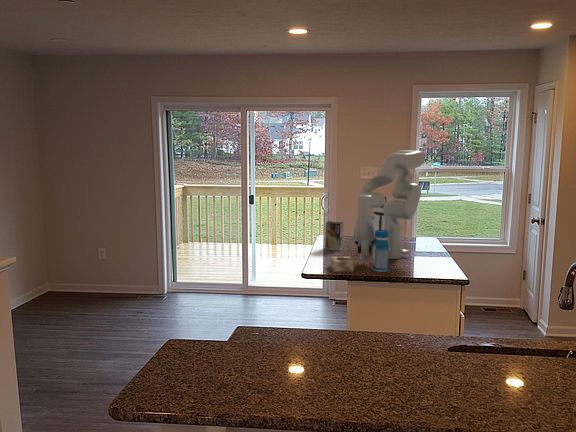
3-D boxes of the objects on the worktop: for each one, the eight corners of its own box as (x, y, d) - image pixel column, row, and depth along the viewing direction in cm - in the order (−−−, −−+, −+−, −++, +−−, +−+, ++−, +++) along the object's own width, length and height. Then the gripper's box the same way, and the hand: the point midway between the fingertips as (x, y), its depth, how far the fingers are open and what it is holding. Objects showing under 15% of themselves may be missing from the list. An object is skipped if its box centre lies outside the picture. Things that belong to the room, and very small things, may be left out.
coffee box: (342, 248, 299) (343, 222, 296) (339, 251, 293) (340, 223, 290) (328, 247, 302) (328, 220, 300) (324, 249, 296) (325, 222, 294)
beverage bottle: (380, 273, 248) (382, 233, 245) (367, 269, 255) (369, 230, 252) (392, 270, 253) (394, 231, 250) (379, 266, 260) (381, 228, 257)
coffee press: (398, 244, 314) (401, 196, 309) (389, 248, 301) (392, 198, 296) (372, 240, 323) (375, 194, 318) (362, 245, 310) (364, 196, 305)
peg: (367, 257, 266) (367, 235, 264) (368, 259, 262) (369, 237, 260) (359, 257, 266) (359, 235, 264) (361, 260, 262) (361, 237, 260)
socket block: (349, 266, 260) (350, 256, 260) (353, 271, 251) (353, 261, 250) (330, 266, 260) (330, 256, 259) (333, 271, 250) (333, 261, 249)
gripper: (379, 216, 264) (378, 250, 268) (347, 217, 263) (347, 251, 267) (382, 219, 257) (381, 254, 260) (349, 220, 256) (349, 255, 260)
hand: (364, 252), depth 264 cm, fingers closed on peg, 4 cm apart
